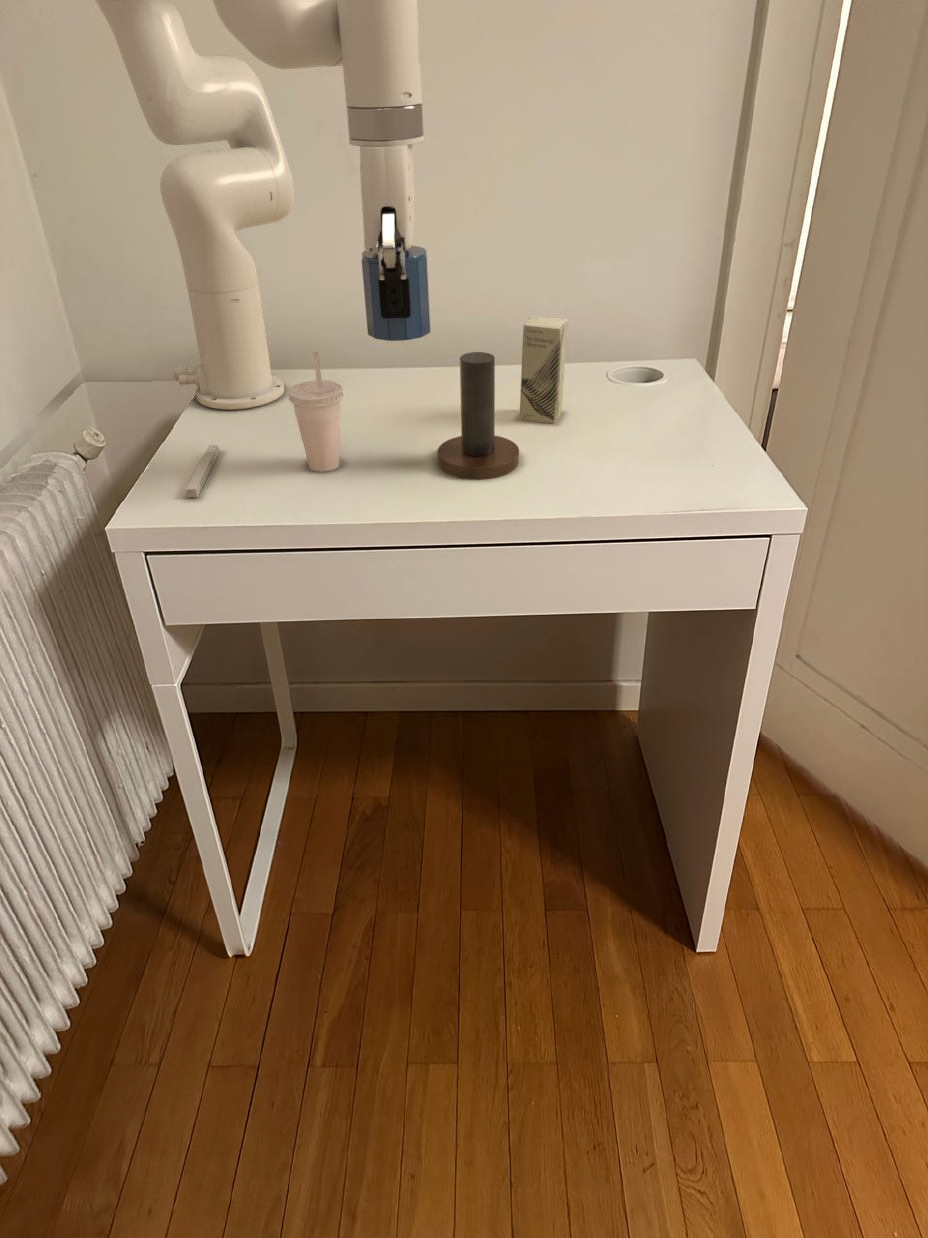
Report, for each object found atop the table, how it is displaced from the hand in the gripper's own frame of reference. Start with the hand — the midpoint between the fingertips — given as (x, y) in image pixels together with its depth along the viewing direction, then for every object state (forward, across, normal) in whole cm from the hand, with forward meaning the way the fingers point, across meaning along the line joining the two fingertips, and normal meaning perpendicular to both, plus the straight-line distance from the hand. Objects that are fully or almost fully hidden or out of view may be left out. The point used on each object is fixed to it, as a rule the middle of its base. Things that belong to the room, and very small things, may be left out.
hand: (397, 306), depth 100 cm
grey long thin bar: (+19, +2, -25) cm, 31 cm away
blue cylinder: (+3, 0, 0) cm, 3 cm away
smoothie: (+19, 0, -10) cm, 22 cm away
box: (+19, -14, +18) cm, 30 cm away
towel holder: (+19, 0, +9) cm, 21 cm away
